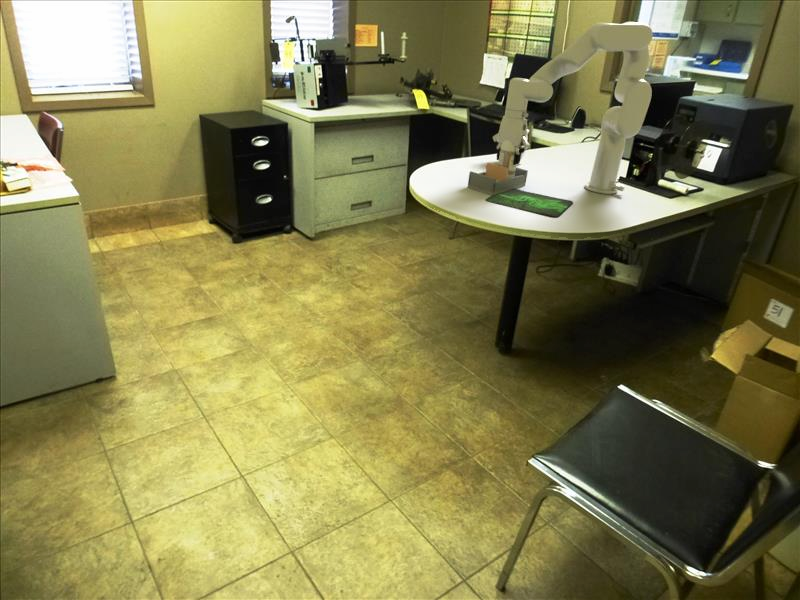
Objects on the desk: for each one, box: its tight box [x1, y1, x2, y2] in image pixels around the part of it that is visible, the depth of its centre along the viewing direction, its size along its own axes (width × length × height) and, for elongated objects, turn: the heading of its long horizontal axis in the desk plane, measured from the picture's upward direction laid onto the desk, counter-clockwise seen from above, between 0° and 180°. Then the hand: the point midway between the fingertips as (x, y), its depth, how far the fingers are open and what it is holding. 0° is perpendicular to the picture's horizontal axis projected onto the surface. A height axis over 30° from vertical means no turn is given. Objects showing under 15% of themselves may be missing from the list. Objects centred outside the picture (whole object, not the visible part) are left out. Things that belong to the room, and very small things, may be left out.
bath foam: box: [497, 140, 518, 179], centre depth 217 cm, size 7×7×20 cm
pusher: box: [485, 162, 509, 182], centre depth 215 cm, size 9×5×7 cm, turn 46°
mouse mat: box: [484, 188, 574, 218], centre depth 206 cm, size 27×22×1 cm
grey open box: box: [467, 166, 528, 196], centre depth 219 cm, size 12×22×6 cm, turn 136°
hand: (507, 161), depth 219 cm, fingers closed on bath foam, 7 cm apart
